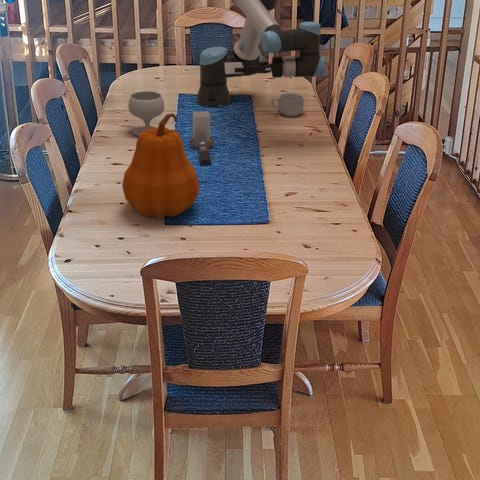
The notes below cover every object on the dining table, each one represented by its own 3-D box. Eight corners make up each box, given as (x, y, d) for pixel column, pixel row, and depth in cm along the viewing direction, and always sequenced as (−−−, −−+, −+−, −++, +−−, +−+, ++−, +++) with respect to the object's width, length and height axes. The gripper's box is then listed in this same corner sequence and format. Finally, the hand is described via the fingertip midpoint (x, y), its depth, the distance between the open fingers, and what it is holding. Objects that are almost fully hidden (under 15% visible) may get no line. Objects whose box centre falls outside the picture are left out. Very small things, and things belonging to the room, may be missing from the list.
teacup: (303, 111, 325) (304, 93, 321) (303, 119, 316) (304, 100, 312) (271, 109, 326) (272, 91, 323) (269, 117, 317) (270, 99, 313)
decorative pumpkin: (161, 187, 251) (158, 99, 237) (215, 207, 238) (215, 115, 224) (107, 210, 235) (100, 117, 221) (162, 233, 221) (158, 136, 207)
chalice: (122, 134, 295) (120, 97, 288) (142, 124, 306) (141, 88, 299) (152, 141, 290) (151, 103, 283) (172, 130, 301) (171, 93, 294)
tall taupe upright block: (193, 137, 287) (192, 111, 282) (208, 136, 288) (208, 111, 283) (194, 142, 282) (194, 117, 277) (210, 142, 282) (210, 116, 278)
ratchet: (189, 142, 289) (189, 127, 287) (212, 141, 290) (212, 126, 288) (193, 165, 268) (193, 149, 266) (218, 164, 269) (218, 149, 266)
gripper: (285, 81, 266) (225, 82, 265) (280, 73, 290) (224, 75, 289) (286, 59, 264) (225, 60, 263) (280, 53, 287) (224, 55, 287)
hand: (224, 68), depth 276 cm, fingers open, 13 cm apart
